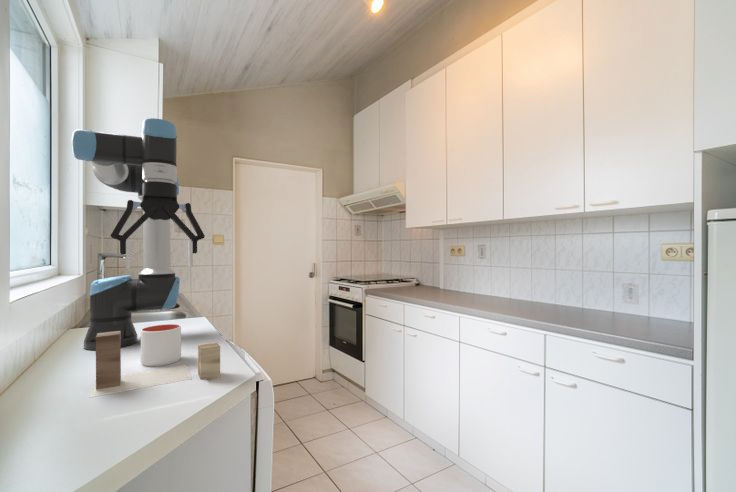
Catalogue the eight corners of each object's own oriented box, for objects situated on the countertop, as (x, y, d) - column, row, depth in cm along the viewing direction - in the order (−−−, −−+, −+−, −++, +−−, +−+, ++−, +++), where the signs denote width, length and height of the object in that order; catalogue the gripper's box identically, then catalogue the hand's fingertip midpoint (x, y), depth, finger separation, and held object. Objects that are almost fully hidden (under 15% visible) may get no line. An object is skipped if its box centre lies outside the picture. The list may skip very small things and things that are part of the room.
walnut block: (97, 384, 86) (97, 333, 86) (120, 380, 89) (120, 330, 89) (96, 390, 82) (95, 336, 82) (119, 386, 85) (119, 334, 85)
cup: (188, 357, 108) (188, 324, 108) (166, 368, 98) (166, 332, 98) (156, 357, 109) (156, 324, 109) (132, 368, 99) (132, 331, 99)
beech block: (198, 375, 92) (197, 344, 92) (216, 372, 95) (216, 341, 95) (200, 381, 88) (200, 348, 89) (220, 377, 91) (220, 345, 91)
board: (95, 381, 89) (95, 379, 89) (186, 366, 100) (186, 364, 100) (89, 399, 78) (89, 397, 78) (191, 380, 89) (191, 378, 89)
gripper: (96, 175, 81) (97, 270, 81) (215, 184, 95) (216, 266, 94) (99, 180, 87) (99, 268, 87) (210, 189, 101) (211, 265, 101)
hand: (160, 267), depth 91 cm, fingers open, 13 cm apart
